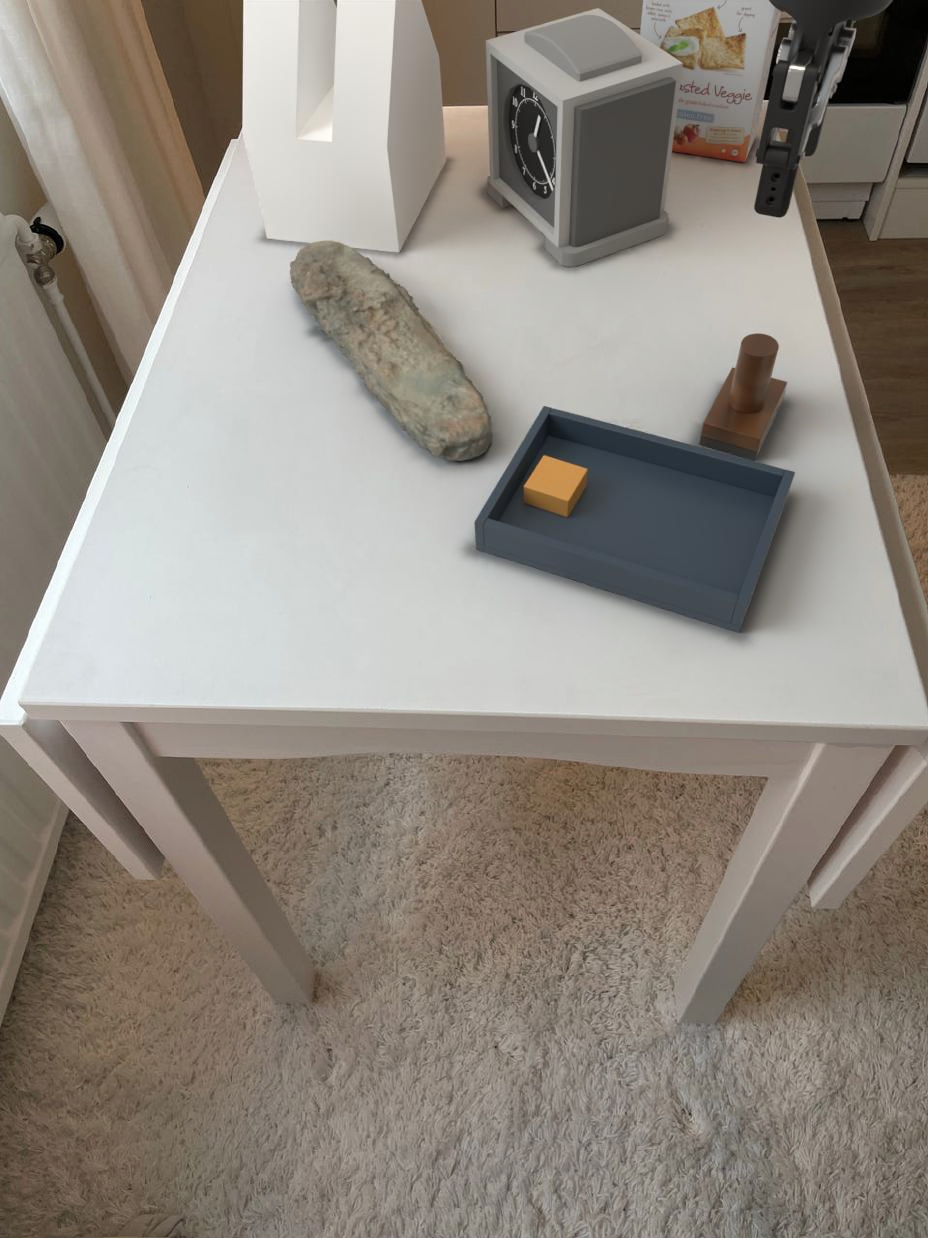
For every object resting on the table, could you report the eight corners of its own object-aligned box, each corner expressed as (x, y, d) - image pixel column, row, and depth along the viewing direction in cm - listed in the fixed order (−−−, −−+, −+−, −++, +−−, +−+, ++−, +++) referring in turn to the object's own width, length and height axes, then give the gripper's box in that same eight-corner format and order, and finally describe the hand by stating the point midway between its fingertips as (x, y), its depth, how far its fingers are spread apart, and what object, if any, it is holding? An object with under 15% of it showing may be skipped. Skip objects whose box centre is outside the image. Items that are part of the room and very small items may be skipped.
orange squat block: (586, 485, 80) (588, 468, 78) (567, 517, 78) (568, 500, 76) (543, 471, 81) (543, 454, 79) (523, 502, 79) (523, 486, 77)
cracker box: (627, 148, 113) (645, -57, 96) (641, 123, 117) (661, -79, 100) (745, 165, 110) (786, -44, 93) (756, 140, 113) (797, -67, 96)
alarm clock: (483, 189, 109) (476, 13, 95) (581, 157, 113) (590, -19, 98) (566, 269, 99) (573, 86, 85) (671, 231, 102) (696, 48, 88)
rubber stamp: (781, 403, 86) (803, 323, 79) (755, 460, 82) (776, 382, 75) (727, 388, 87) (744, 309, 80) (698, 444, 83) (714, 365, 76)
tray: (786, 500, 79) (795, 471, 76) (739, 632, 71) (747, 606, 68) (543, 433, 85) (543, 405, 82) (475, 549, 77) (473, 521, 75)
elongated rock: (422, 495, 83) (520, 456, 86) (422, 451, 79) (525, 412, 82) (268, 276, 100) (354, 250, 103) (260, 230, 96) (350, 205, 99)
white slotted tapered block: (325, 150, 117) (283, -95, 96) (446, 160, 114) (429, -89, 94) (267, 238, 106) (206, -17, 86) (399, 252, 103) (369, -8, 83)
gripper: (894, -39, 49) (816, 247, 62) (938, -130, 57) (860, 141, 70) (750, -54, 51) (704, 224, 64) (810, -141, 59) (758, 125, 72)
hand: (785, 181), depth 67 cm, fingers open, 8 cm apart
